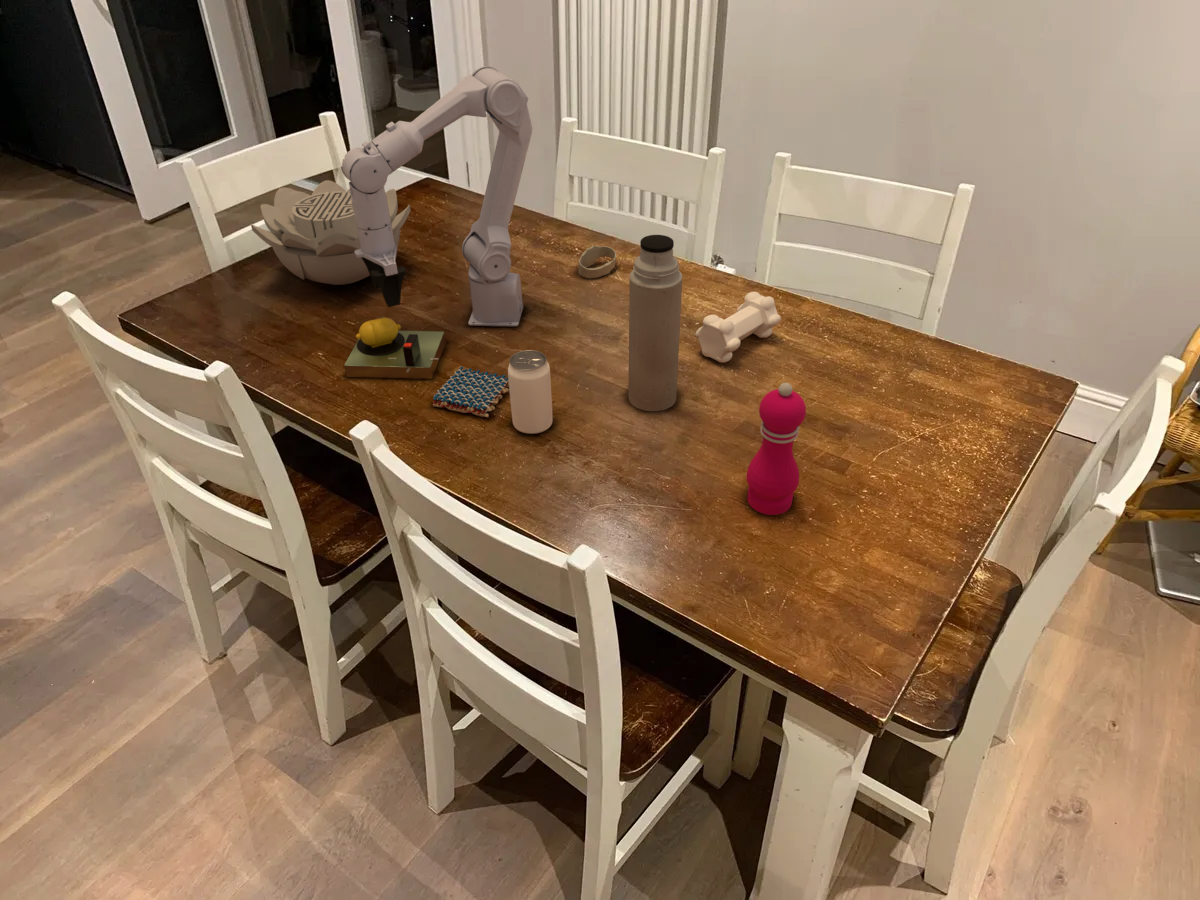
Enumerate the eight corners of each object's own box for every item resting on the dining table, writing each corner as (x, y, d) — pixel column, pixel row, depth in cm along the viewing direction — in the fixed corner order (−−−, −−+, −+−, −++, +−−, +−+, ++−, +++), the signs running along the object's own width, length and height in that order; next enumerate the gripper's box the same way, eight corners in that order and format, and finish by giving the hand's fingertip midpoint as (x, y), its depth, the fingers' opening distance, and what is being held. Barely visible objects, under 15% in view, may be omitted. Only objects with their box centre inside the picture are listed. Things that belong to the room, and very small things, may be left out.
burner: (409, 331, 156) (409, 330, 156) (398, 356, 150) (398, 355, 150) (364, 330, 157) (364, 329, 157) (351, 355, 150) (350, 354, 150)
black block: (412, 351, 151) (408, 332, 148) (420, 351, 151) (417, 332, 148) (405, 365, 147) (402, 346, 145) (414, 366, 147) (411, 346, 145)
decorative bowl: (406, 308, 168) (394, 236, 159) (255, 308, 169) (234, 236, 159) (432, 242, 192) (422, 175, 183) (299, 242, 192) (283, 176, 183)
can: (547, 437, 135) (543, 373, 127) (507, 433, 136) (501, 368, 128) (557, 413, 140) (553, 350, 132) (518, 409, 141) (513, 346, 133)
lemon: (399, 331, 156) (395, 310, 153) (406, 342, 153) (402, 320, 150) (355, 342, 153) (350, 320, 151) (361, 353, 150) (356, 331, 147)
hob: (450, 343, 158) (449, 330, 156) (434, 385, 147) (432, 372, 145) (365, 341, 159) (363, 329, 157) (343, 383, 148) (340, 370, 146)
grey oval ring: (603, 259, 184) (603, 237, 181) (624, 268, 180) (624, 246, 177) (571, 272, 179) (570, 250, 176) (591, 282, 176) (591, 260, 172)
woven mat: (429, 408, 142) (427, 398, 140) (459, 374, 149) (458, 364, 148) (486, 420, 139) (485, 410, 137) (514, 385, 146) (513, 375, 145)
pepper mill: (738, 485, 125) (752, 370, 113) (787, 482, 126) (806, 366, 113) (749, 519, 119) (765, 401, 107) (801, 516, 120) (822, 398, 108)
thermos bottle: (636, 380, 147) (638, 225, 130) (681, 389, 145) (690, 232, 128) (622, 406, 141) (622, 247, 124) (668, 415, 139) (676, 255, 122)
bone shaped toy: (729, 371, 149) (733, 330, 144) (691, 353, 154) (693, 312, 149) (780, 339, 157) (786, 299, 152) (743, 322, 162) (747, 283, 157)
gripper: (339, 212, 148) (354, 284, 156) (361, 244, 138) (376, 319, 146) (379, 204, 150) (392, 275, 159) (404, 235, 140) (416, 309, 149)
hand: (387, 295), depth 153 cm, fingers open, 7 cm apart
